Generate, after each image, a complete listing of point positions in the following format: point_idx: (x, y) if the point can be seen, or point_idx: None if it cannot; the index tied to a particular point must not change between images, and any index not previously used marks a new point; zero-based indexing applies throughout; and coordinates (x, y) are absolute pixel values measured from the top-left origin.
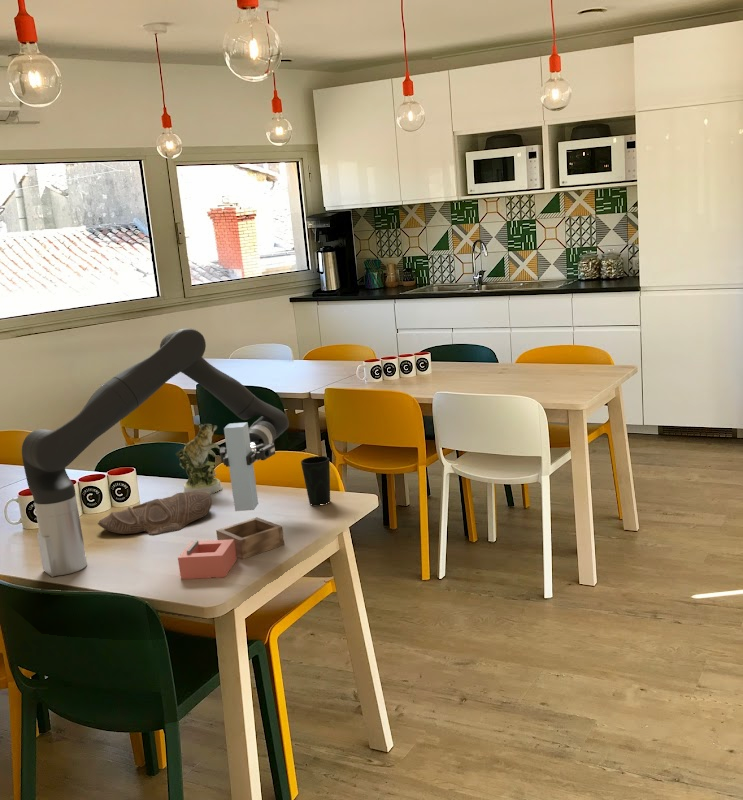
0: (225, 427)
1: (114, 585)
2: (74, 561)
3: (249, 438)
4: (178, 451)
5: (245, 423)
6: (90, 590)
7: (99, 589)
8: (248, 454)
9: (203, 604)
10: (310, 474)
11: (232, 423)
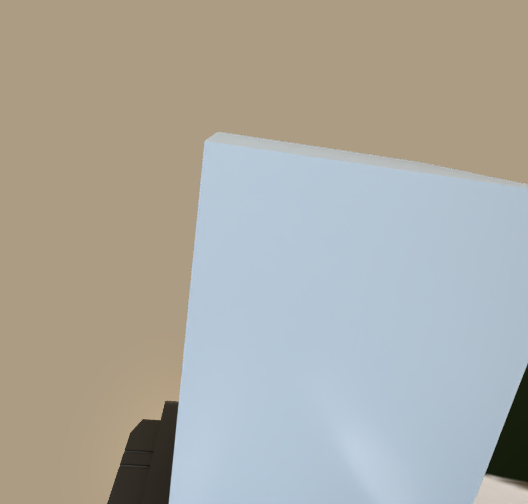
0: (426, 163)
1: (494, 500)
2: None
3: (177, 430)
4: None
5: (228, 140)
6: (523, 482)
7: (507, 484)
8: None
9: None
10: None
11: (517, 186)
